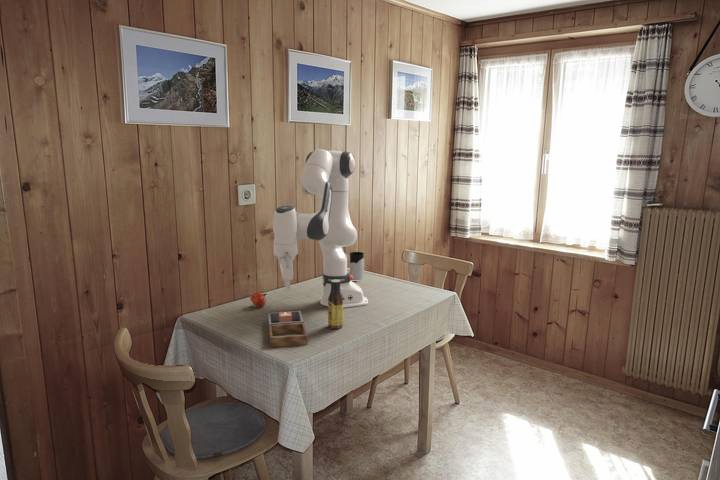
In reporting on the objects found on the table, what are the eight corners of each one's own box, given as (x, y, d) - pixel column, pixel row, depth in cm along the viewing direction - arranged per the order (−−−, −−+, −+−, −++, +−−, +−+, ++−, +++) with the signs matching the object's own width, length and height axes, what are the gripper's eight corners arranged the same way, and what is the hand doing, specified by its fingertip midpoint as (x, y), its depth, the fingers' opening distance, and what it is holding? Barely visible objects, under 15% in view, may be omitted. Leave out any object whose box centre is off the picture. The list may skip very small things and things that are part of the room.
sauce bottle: (327, 324, 210) (327, 278, 206) (342, 324, 210) (342, 277, 206) (328, 330, 203) (327, 282, 200) (343, 329, 204) (343, 282, 200)
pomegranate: (251, 315, 228) (269, 302, 227) (242, 302, 227) (259, 289, 226) (256, 311, 235) (272, 298, 234) (246, 299, 235) (263, 286, 234)
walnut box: (304, 331, 202) (303, 322, 201) (307, 344, 189) (307, 335, 188) (269, 333, 199) (269, 325, 199) (270, 346, 186) (270, 338, 185)
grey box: (300, 318, 216) (300, 310, 216) (303, 329, 203) (303, 321, 203) (268, 320, 214) (268, 312, 213) (269, 332, 201) (269, 323, 200)
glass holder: (359, 282, 273) (359, 255, 270) (337, 279, 280) (337, 252, 277) (367, 279, 280) (367, 252, 278) (346, 275, 287) (345, 249, 285)
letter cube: (291, 323, 211) (291, 311, 210) (292, 327, 207) (291, 315, 206) (279, 323, 210) (278, 312, 209) (279, 328, 206) (279, 316, 205)
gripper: (296, 255, 178) (297, 293, 181) (292, 244, 198) (293, 278, 200) (278, 256, 177) (279, 294, 180) (276, 245, 197) (277, 279, 199)
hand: (286, 285), depth 190 cm, fingers open, 8 cm apart
